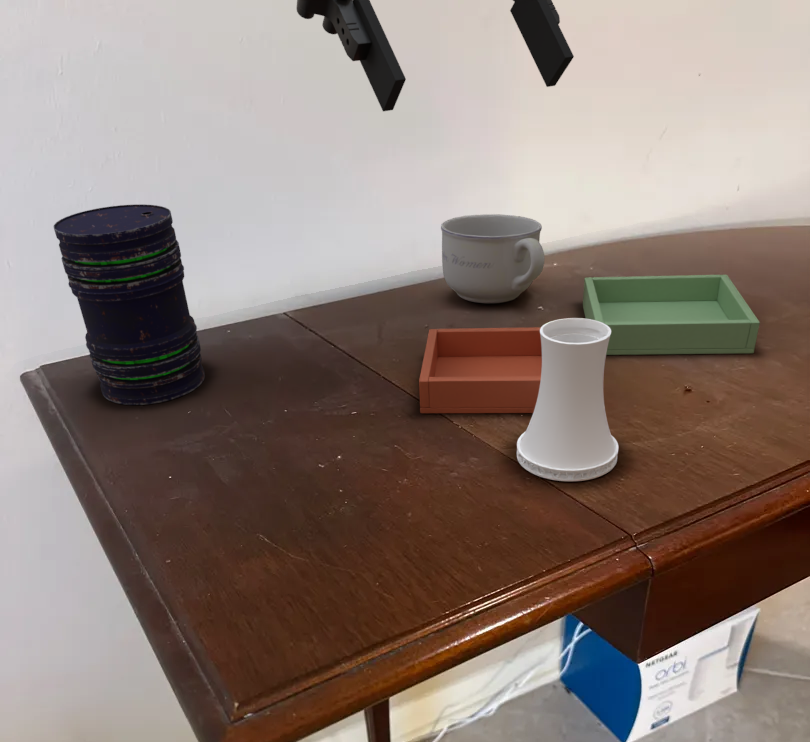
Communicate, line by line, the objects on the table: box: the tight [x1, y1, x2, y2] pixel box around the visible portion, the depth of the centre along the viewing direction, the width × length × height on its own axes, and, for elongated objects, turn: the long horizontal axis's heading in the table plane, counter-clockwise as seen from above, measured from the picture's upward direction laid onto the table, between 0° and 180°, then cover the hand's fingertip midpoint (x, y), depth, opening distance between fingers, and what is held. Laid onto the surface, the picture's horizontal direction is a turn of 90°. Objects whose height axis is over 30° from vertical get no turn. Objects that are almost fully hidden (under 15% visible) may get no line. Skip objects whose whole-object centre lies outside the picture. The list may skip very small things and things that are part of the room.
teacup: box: [440, 213, 545, 304], centre depth 88 cm, size 14×11×8 cm
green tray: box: [582, 274, 761, 356], centre depth 81 cm, size 15×14×3 cm
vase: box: [516, 317, 619, 482], centre depth 59 cm, size 8×8×10 cm
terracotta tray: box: [418, 326, 542, 414], centre depth 72 cm, size 12×12×3 cm
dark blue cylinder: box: [53, 204, 206, 406], centre depth 73 cm, size 10×10×15 cm
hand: (481, 83), depth 55 cm, fingers open, 13 cm apart
